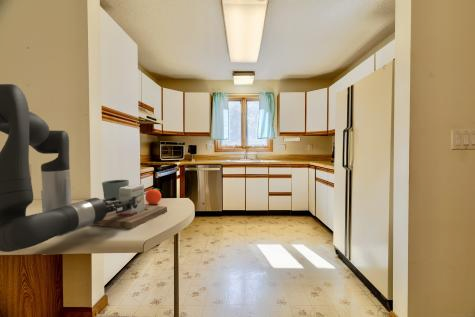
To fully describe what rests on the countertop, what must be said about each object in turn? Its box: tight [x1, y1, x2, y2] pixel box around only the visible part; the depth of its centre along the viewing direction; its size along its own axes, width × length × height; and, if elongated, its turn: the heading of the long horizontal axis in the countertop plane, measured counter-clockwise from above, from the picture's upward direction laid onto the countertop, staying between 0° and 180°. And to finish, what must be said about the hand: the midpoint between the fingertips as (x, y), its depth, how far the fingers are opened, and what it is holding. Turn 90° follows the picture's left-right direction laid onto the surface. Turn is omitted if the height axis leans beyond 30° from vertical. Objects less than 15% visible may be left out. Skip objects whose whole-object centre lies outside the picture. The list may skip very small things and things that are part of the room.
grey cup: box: [101, 179, 130, 205], centre depth 102 cm, size 10×10×12 cm
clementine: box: [144, 188, 162, 205], centre depth 111 cm, size 8×7×7 cm
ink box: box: [119, 184, 146, 217], centre depth 90 cm, size 9×5×12 cm, turn 168°
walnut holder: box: [93, 204, 168, 229], centre depth 90 cm, size 16×20×2 cm
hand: (124, 200), depth 87 cm, fingers open, 8 cm apart
